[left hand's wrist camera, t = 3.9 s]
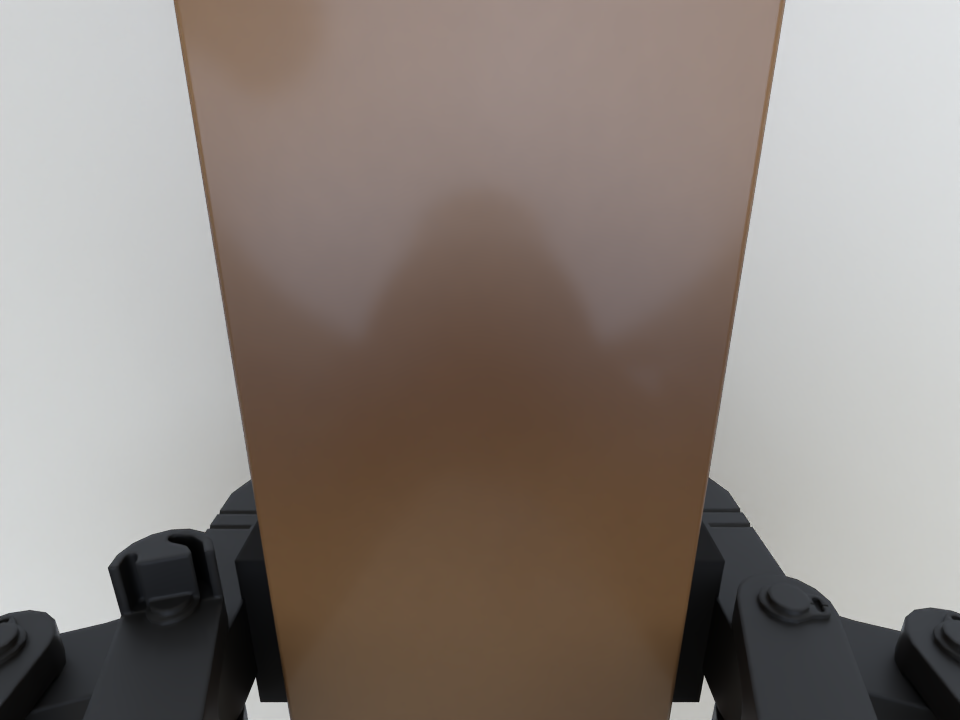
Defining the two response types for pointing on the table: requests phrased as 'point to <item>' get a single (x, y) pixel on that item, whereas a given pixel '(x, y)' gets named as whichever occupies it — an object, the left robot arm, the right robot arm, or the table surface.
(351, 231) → the beam
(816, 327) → the table surface
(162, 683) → the left robot arm
